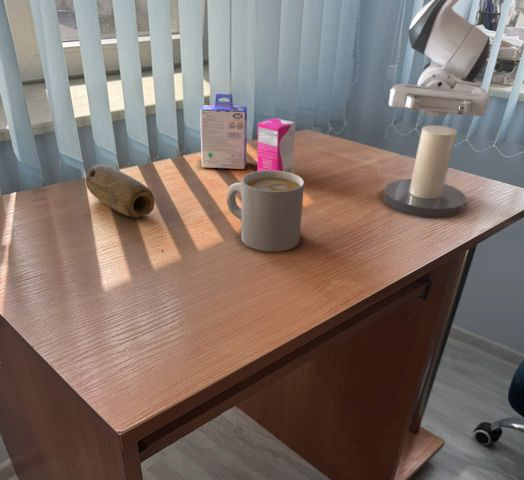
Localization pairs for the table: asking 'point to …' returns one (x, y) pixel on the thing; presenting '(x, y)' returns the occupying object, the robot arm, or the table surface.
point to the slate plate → (423, 201)
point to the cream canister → (432, 161)
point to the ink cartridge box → (223, 134)
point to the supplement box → (276, 145)
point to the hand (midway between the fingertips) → (438, 108)
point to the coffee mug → (269, 209)
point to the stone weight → (119, 191)
